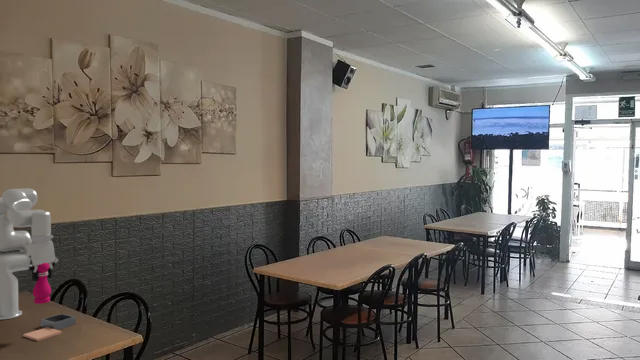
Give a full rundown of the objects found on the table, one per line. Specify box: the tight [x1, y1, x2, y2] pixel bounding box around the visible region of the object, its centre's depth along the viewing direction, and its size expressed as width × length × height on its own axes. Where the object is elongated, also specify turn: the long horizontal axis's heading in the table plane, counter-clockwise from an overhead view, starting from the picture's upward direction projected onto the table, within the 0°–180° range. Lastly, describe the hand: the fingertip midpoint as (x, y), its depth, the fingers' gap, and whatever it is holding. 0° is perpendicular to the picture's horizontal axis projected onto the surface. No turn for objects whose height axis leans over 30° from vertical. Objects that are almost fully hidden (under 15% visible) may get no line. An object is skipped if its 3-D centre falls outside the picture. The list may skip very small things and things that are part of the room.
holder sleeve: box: [40, 313, 77, 330], centre depth 229 cm, size 11×11×4 cm
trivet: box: [23, 327, 63, 342], centre depth 217 cm, size 11×11×1 cm
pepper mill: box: [32, 263, 52, 305], centre depth 216 cm, size 7×7×20 cm
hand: (41, 278), depth 216 cm, fingers closed on pepper mill, 5 cm apart
